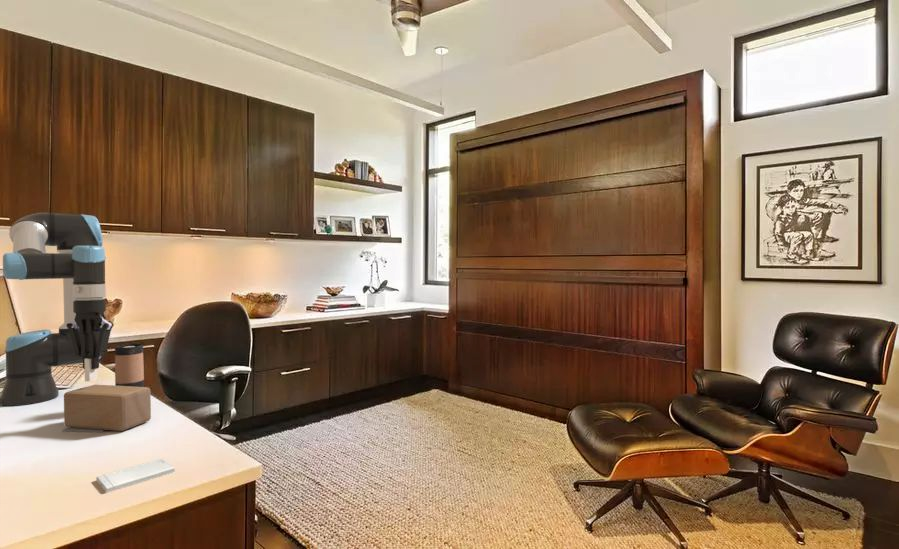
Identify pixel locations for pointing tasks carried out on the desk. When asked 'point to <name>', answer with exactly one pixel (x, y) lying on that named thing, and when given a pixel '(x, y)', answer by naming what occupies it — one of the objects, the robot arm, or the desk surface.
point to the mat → (83, 429)
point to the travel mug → (129, 365)
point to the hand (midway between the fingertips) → (91, 380)
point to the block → (107, 407)
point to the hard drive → (134, 475)
